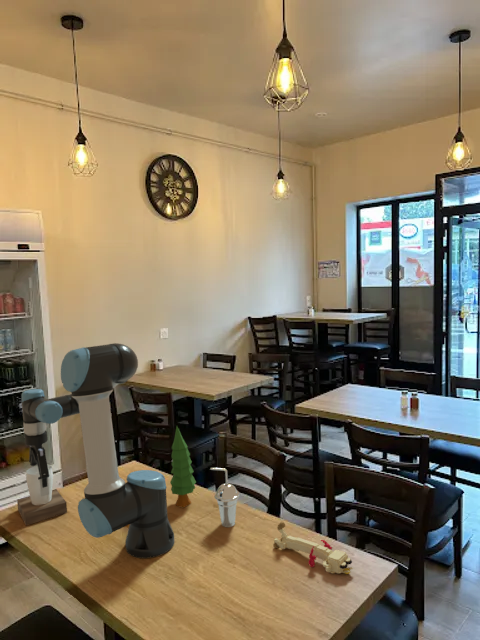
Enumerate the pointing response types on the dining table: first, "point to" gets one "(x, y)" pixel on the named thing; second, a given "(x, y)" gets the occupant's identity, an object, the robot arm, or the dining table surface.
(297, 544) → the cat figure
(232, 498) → the cup with straw
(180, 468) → the decorative tree
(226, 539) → the dining table surface
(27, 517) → the riser
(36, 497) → the cup
